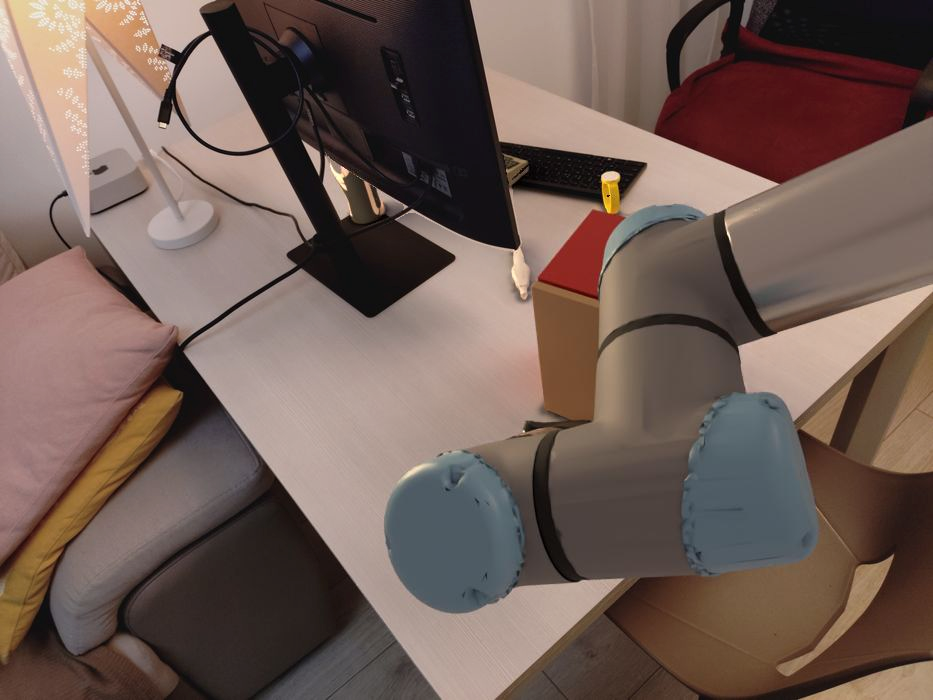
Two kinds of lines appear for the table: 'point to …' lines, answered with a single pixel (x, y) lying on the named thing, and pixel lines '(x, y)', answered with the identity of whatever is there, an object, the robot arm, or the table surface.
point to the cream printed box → (514, 168)
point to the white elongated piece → (520, 273)
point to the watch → (611, 191)
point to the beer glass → (358, 195)
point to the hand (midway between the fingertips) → (646, 440)
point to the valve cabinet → (582, 256)
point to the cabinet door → (567, 349)
